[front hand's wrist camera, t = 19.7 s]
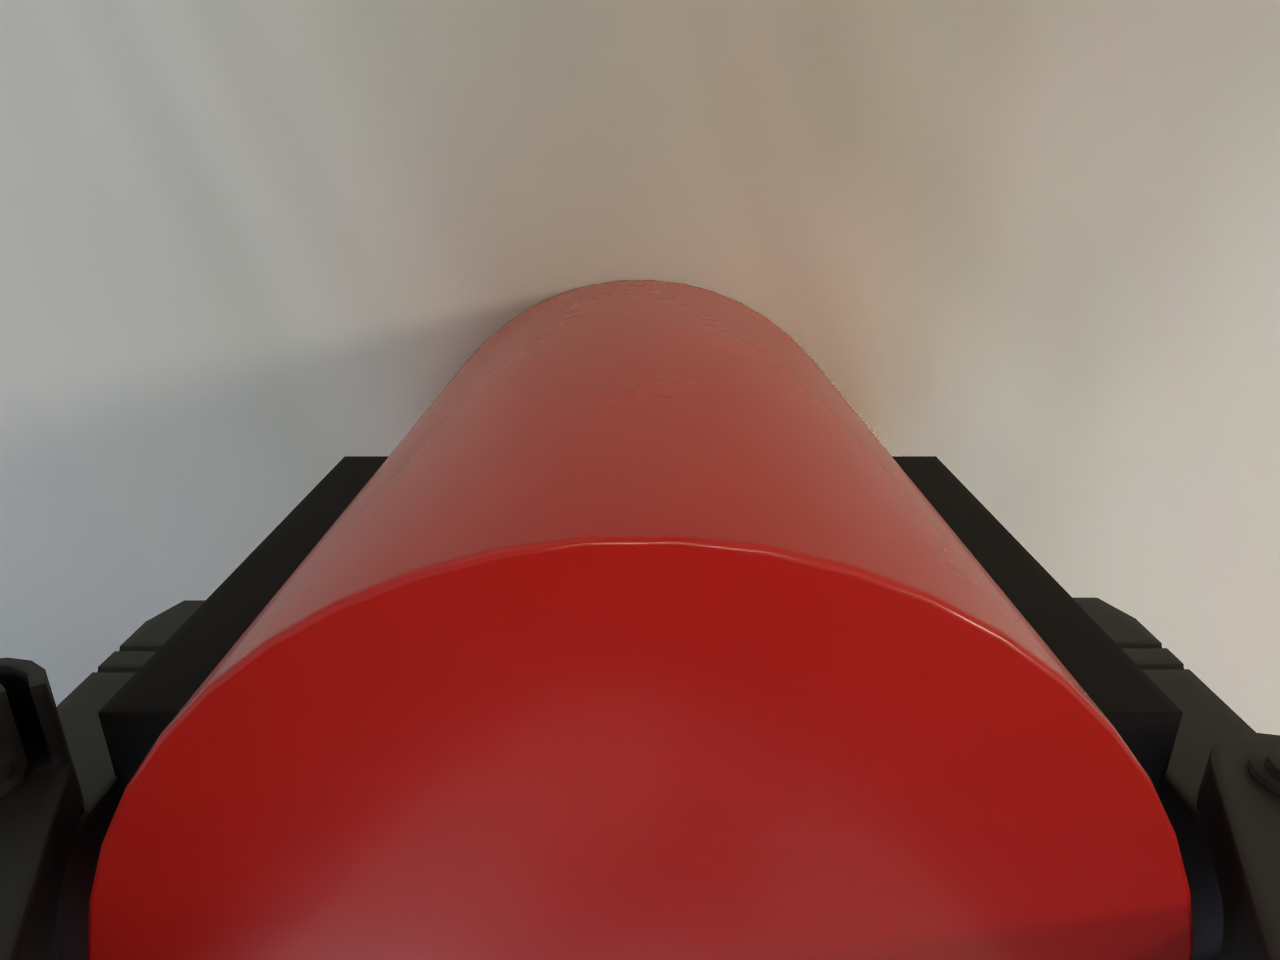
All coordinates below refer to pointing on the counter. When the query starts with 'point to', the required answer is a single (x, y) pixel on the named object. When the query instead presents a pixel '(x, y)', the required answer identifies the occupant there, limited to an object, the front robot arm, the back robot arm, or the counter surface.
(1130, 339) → the counter surface
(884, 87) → the counter surface
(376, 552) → the tin
